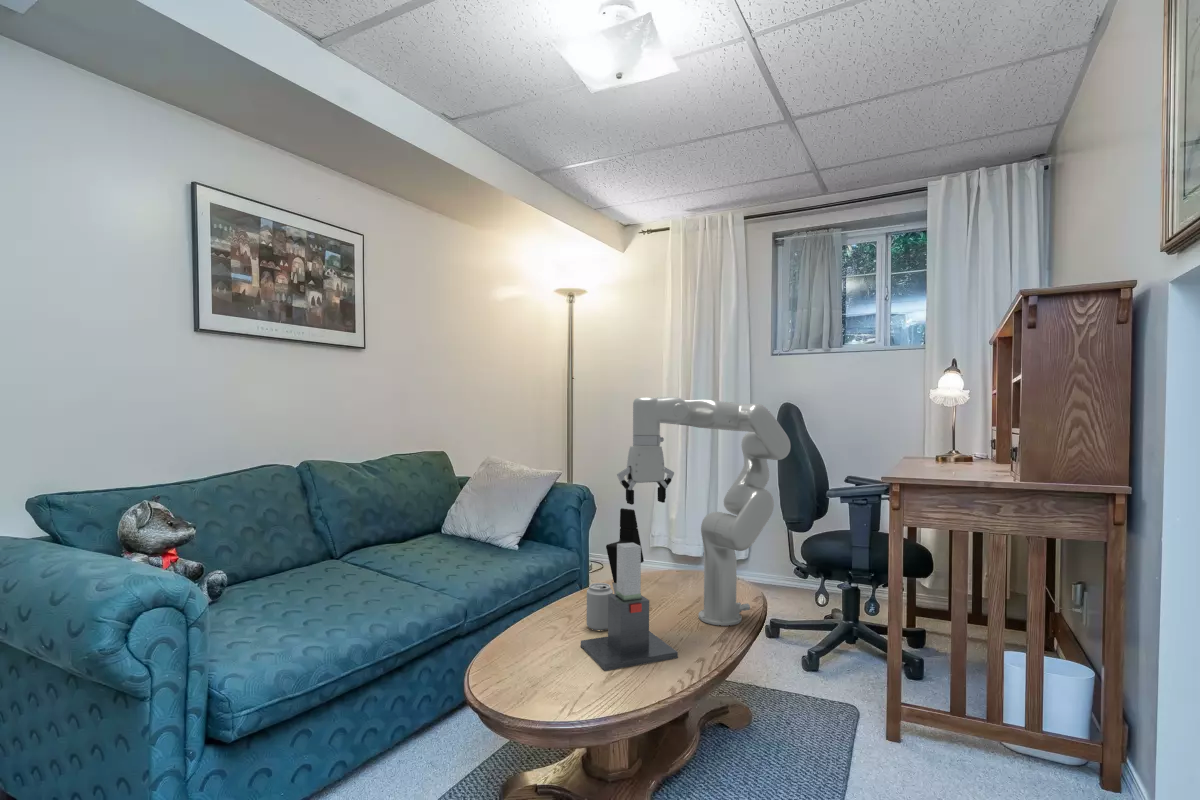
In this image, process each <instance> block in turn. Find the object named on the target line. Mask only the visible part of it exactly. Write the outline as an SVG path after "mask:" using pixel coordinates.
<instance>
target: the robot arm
mask: <svg viewBox="0 0 1200 800" xmlns="http://www.w3.org/2000/svg"><path fill="white" fill-rule="evenodd" d="M661 424H666V425H667V424H668V425H677V426H688V427H692V428H699V429H711V430H723V431H733V432H747V433H745V434H744V435H743V437H742V439H741V445H740V447H741V450H742V455H743V467H742V469H741V471H740V473H739V474H738V476H737V477H736V479H735V480H734V482H733V483H732V484H731V486H730V487H729V489H728V490H727V492H726V493H725V496H724V497H723V506H724V508H725V510H726V511H727V512H728V513H726V512H722V511H713V512H712V511H711V512H710V513H708V514H706V515H705V516H704V517H703V519H702V521H701V524H700V534H701V540H702V545H703V570H704V571H703V609H702V610H700V611H699V612H698V619H699V620H700V621H702V622H704V623H706V624H709V625H712V626H713V625H714V626H719V625H721V626H723V627H725V626H729V625H730V626H735V625H738V624H739V623H741V622H742V617H743V616H742V615H741V614H740V613H741V612H742V611H743V612H744V611H749V610H750V609H751V606H750V604H749V603H742V602H737V563H738V562H737V556H736V555H737V554H736V551H737V552H744V551H746V550H748V549H749V548H751V546H753V545H754V543H755V542H756V540H757V539H758V537H759V535H760V534H761V533H762V532H763V529H764V528H765V526H766V525H767V523H768V522H769V520H770V518H771V516H772V515H773V511H774V507H775V502H774V498H773V496H772V493H771V492H770V491H768V490H767V489H765V488H766V486H767V484H768V482H769V480H770V469H769V464H768V461H767V460H770V461H771V460H772V461H779V460H780V461H781V460H783V459H785V458H787V457H788V455H789V454H790V452H791V440H790V438H789V436H788V434H787V433H786V432H785V430H784V429H783V426H781V424H780V423H779V421H778V420H777V419H776V417H775V416H774V415H773V414H772V413H771V411H770V410H769V409H768V408H767V407H766V406H764V405H763V404H760V403H741V402H728V401H720V400H714V399H713V400H712V399H695V400H694V399H693V400H691V399H689V400H687V399H686V400H684V399H682V398H681V397H678V396H677V397H676V396H664V397H663V396H658V397H645V396H644V397H635V399H634V400H633V402H632V445H631V446H629V449H628V456H627V460H626V461H627V462H626V468H624V469H623V470H621V471H620V472H618V473H617V474H616V477H617V478H618V481H619V483H620V485H622V487H623V488H624V490H625V500H626V503H627V504H629V505H635V490H634V489H633V488H634V487H635V486H636V484H643V483H646V484H647V483H657V485H658V487H657V502H659V503H666V498H667V493H666V492H667V491H666V490H667V488H668V487H669V485H670V484H671V482H672V479H673V477H674V475H675V472H674V471H673V470H671V469H669V468H668V467H666V466H665V458H664V452H663V447H662V446H660V445H661V443H664V440H665V439H664V437H663V436H662V437H661V432H660V431H661V426H660V425H661ZM665 474H666V475H665ZM625 476H626V479H625ZM665 476H666V477H665Z"/></svg>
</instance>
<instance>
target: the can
mask: <svg viewBox="0 0 1200 800" xmlns="http://www.w3.org/2000/svg"><path fill="white" fill-rule="evenodd" d="M611 587H612V585H610V584H608V583H605V582H594V583H591V584H589V586H588V589H587V590H586V626H587V627H588V628H589V629H590V628H591V629H593V630H592V631H595V630H600V631H599V632H602V631H601V630H605V631H608V630H607V629H608V595H610V594H614V589H613V588H611ZM591 629H590V630H591Z"/></svg>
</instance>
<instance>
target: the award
mask: <svg viewBox="0 0 1200 800" xmlns="http://www.w3.org/2000/svg"><path fill="white" fill-rule="evenodd" d="M638 528H639V527H638V522H637V516H636V511H635V510H634V509H631V508H630V509H629V508H623V507H622V508H620V511H619V539H618V540H617V541H616V542H612V543H608V544H606V546H605V550H606V552H607V553H606V554H607V557H608V562H609V563H608V564H609V566H610V570H611V572H610V573H611V574H612V575H611V576H612V579H613V580H612V581H611V583H612V584H611V585H612V590H613V594H616V590H617V544H621V543H632V542H633V543H635V544H637V545H639V546H641V564H642V563H644V555H643V549H642V548H643V547H642V545H641V538H640V533H639V529H638Z"/></svg>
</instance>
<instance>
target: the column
mask: <svg viewBox="0 0 1200 800" xmlns="http://www.w3.org/2000/svg"><path fill="white" fill-rule="evenodd" d="M641 548H642V545H641V546H639V545H637V544H635V543H633V542H632V543H621V544H617V590H616V595H617V598H619V599H620V600H621V601H623V602H626V601H634V600H641V595H642V592H641V589H642V588H641V583H642V582H641V581H642V580H641V573H642V567H641V566H642V563H641Z"/></svg>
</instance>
